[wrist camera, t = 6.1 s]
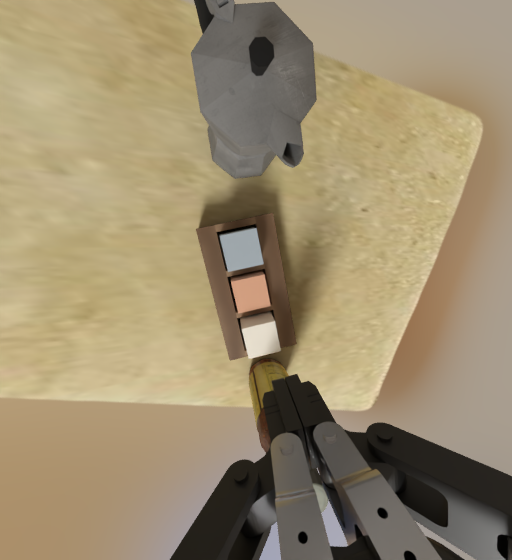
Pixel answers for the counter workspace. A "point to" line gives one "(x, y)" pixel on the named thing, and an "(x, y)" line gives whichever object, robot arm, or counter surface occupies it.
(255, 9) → the coffeepot
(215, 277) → the brown button board
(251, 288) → the terracotta button
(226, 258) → the slate button
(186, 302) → the counter surface
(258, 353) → the cream button
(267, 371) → the sauce bottle
